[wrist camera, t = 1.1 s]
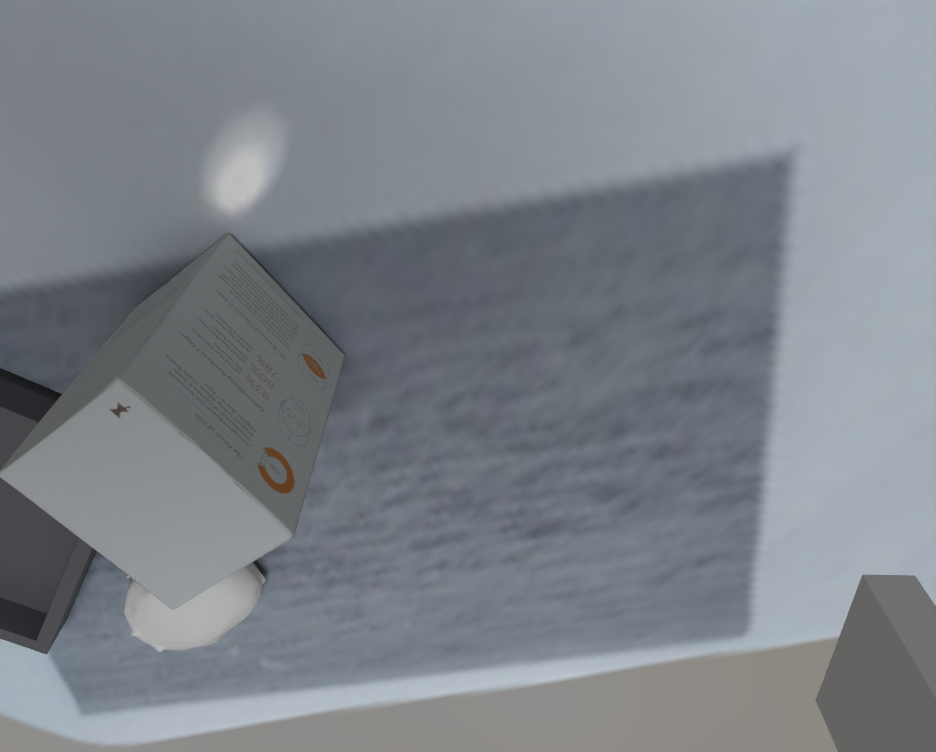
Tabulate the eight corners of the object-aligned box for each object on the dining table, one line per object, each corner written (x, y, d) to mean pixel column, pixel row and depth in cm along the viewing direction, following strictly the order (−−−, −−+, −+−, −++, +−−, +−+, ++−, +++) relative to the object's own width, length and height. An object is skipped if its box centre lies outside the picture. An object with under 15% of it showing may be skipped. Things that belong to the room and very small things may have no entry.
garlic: (202, 637, 49) (183, 689, 45) (109, 576, 46) (81, 626, 43) (288, 570, 46) (274, 620, 43) (193, 501, 44) (171, 549, 40)
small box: (133, 306, 38) (-13, 474, 26) (229, 228, 36) (116, 373, 24) (255, 422, 41) (172, 616, 29) (350, 357, 39) (299, 537, 27)
